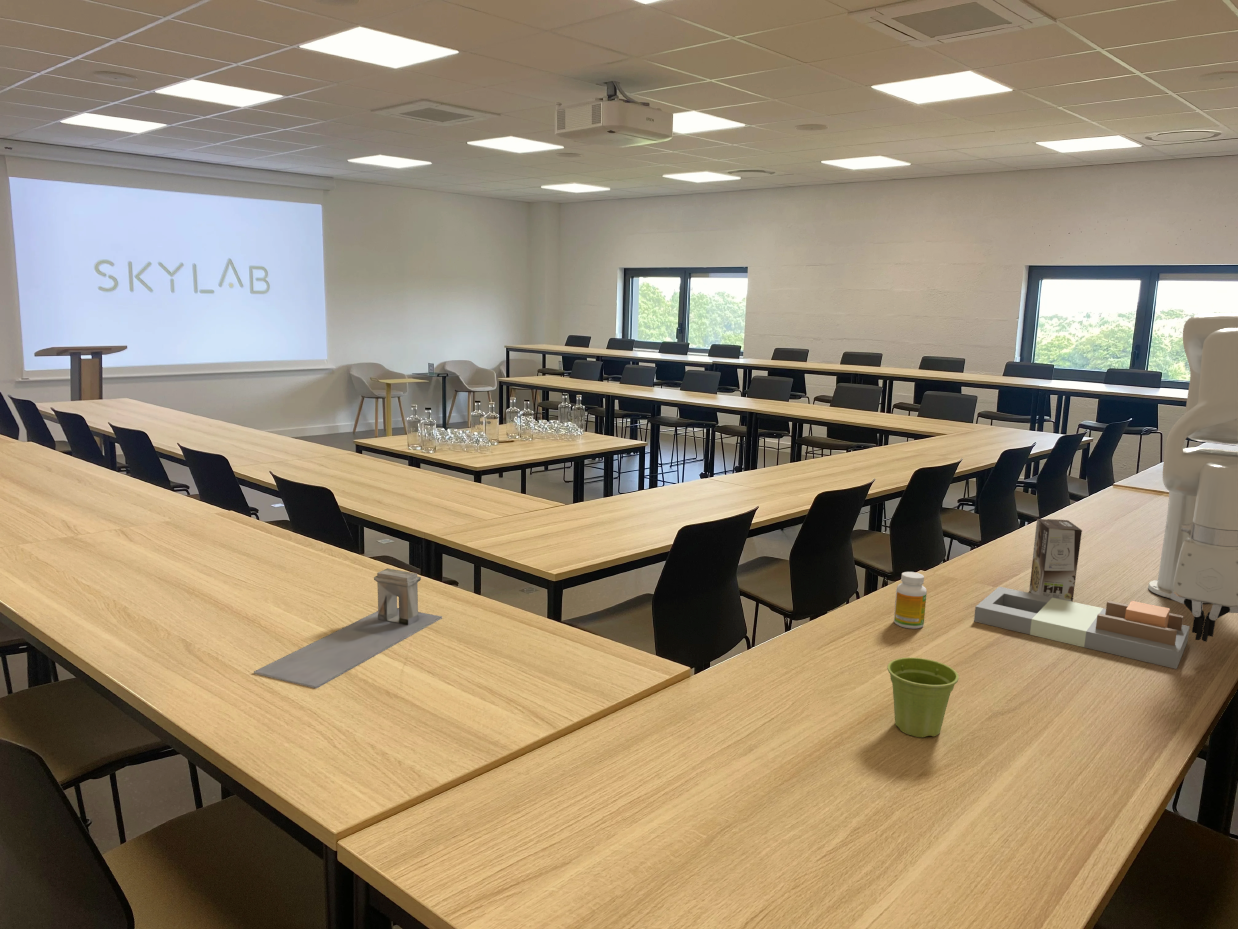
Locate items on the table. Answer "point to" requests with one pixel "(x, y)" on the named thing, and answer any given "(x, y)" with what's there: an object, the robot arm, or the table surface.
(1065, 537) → the coffee box
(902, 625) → the supplement bottle
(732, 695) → the table surface
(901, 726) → the plant pot
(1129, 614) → the block
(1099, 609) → the compartment tray
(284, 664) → the monument
